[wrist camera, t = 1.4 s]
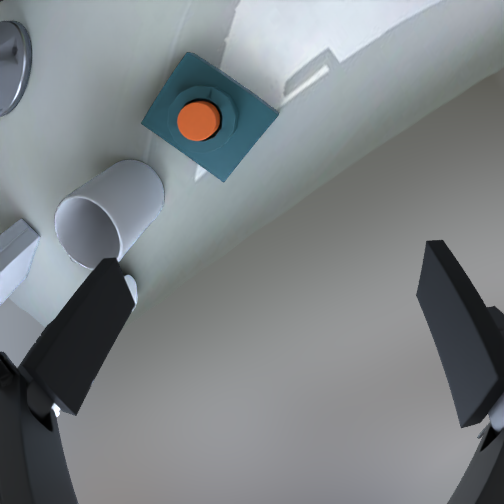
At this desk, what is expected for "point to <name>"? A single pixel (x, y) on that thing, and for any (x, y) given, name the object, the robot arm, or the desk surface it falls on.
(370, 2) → the desk surface
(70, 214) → the mug
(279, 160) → the desk surface
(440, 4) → the desk surface
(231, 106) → the stop button base
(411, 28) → the desk surface
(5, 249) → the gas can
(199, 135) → the stop button
